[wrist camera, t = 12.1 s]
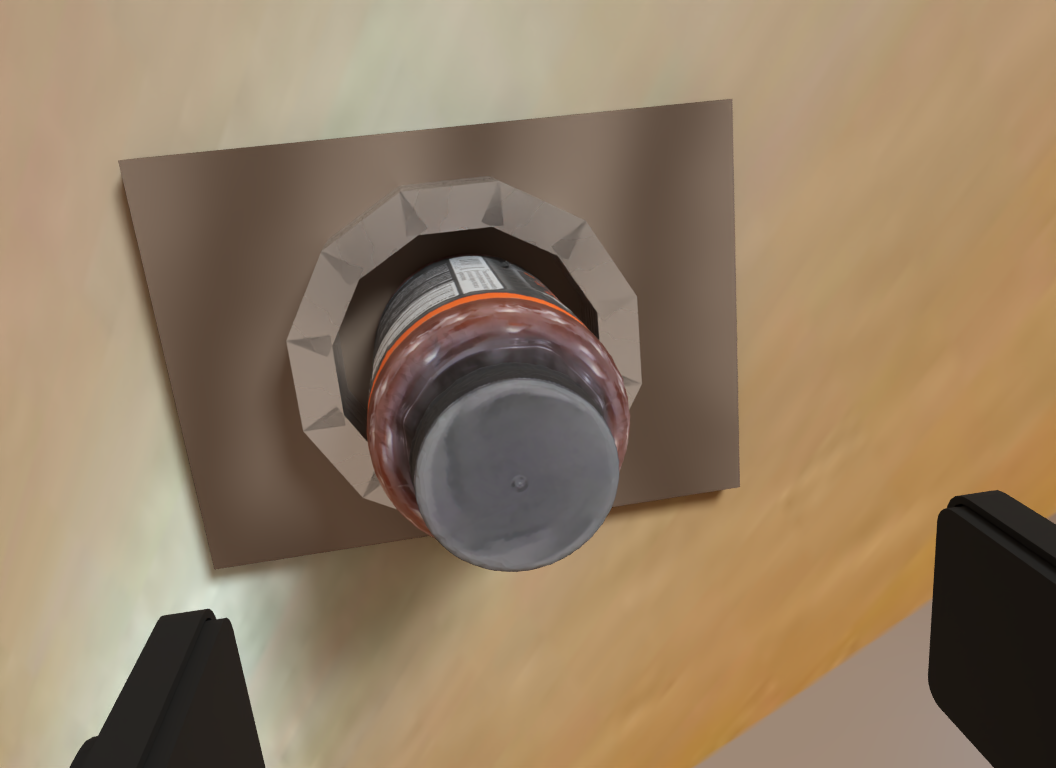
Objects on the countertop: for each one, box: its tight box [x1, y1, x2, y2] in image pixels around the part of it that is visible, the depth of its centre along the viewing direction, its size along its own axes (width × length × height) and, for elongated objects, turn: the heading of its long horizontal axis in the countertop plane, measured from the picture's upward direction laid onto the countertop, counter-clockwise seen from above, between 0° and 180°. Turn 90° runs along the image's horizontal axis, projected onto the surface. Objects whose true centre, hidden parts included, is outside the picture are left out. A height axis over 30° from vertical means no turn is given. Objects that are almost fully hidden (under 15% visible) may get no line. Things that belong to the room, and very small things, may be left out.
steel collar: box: [286, 176, 642, 509], centre depth 25 cm, size 10×10×2 cm
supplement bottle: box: [367, 253, 630, 572], centre depth 21 cm, size 6×6×11 cm
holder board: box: [118, 99, 740, 569], centre depth 27 cm, size 18×13×1 cm
